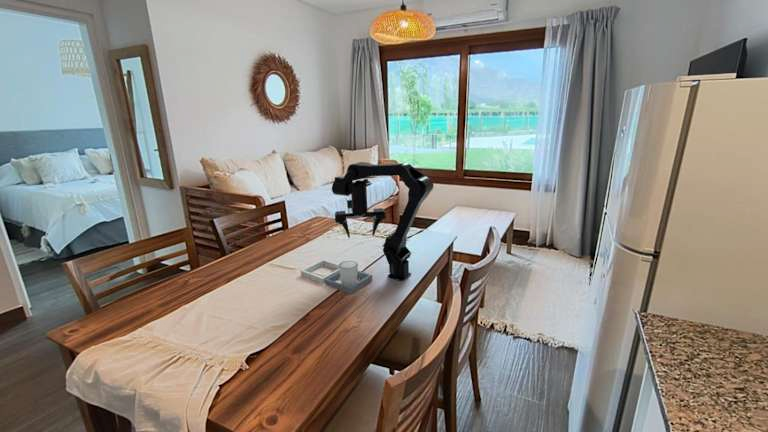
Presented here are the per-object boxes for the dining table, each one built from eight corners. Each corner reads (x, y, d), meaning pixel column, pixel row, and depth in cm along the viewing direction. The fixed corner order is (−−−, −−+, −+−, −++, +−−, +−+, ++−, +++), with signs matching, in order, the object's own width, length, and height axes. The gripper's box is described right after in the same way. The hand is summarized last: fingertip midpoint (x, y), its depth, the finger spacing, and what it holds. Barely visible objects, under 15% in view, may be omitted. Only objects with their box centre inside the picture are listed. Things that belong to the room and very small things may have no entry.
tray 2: (372, 279, 126) (372, 274, 126) (350, 294, 117) (350, 288, 116) (347, 271, 133) (347, 267, 132) (325, 284, 124) (324, 279, 123)
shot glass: (357, 287, 122) (356, 268, 119) (338, 287, 122) (337, 269, 120) (359, 277, 128) (358, 260, 126) (341, 277, 128) (340, 260, 126)
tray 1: (345, 271, 134) (345, 266, 133) (323, 283, 124) (322, 278, 124) (324, 263, 140) (323, 259, 140) (301, 275, 131) (300, 270, 131)
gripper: (381, 190, 136) (382, 227, 141) (333, 193, 134) (336, 231, 139) (385, 197, 126) (386, 237, 131) (333, 200, 123) (336, 241, 128)
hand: (361, 236), depth 132 cm, fingers open, 9 cm apart
